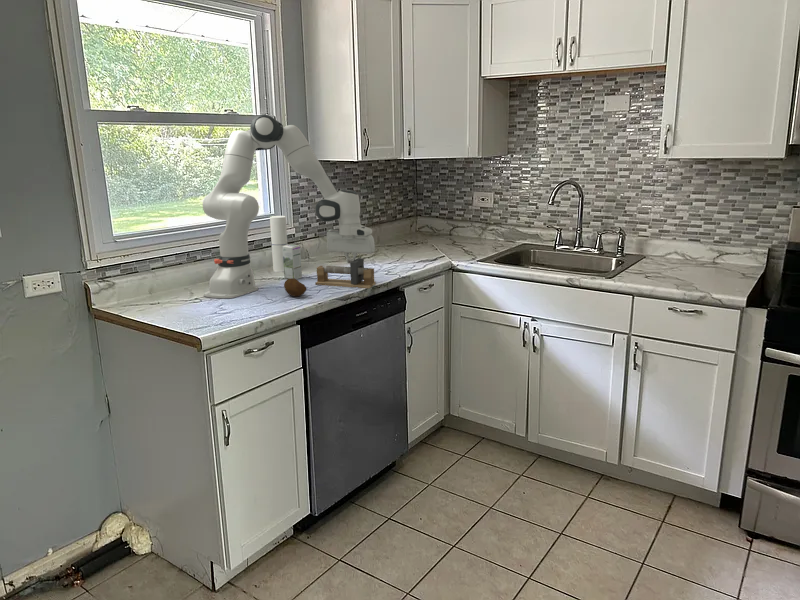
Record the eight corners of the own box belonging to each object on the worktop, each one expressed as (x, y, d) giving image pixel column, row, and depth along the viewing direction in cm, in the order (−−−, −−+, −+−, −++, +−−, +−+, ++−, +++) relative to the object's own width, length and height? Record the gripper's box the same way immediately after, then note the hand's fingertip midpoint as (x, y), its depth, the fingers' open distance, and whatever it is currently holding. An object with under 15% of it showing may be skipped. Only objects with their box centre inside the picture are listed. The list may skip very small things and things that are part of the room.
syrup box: (302, 277, 268) (300, 245, 264) (293, 280, 263) (291, 247, 259) (292, 276, 270) (290, 244, 267) (283, 278, 266) (281, 246, 262)
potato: (298, 300, 230) (297, 282, 229) (277, 295, 237) (276, 278, 235) (311, 296, 236) (310, 278, 234) (290, 292, 242) (289, 275, 241)
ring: (356, 284, 247) (355, 262, 245) (350, 283, 248) (350, 262, 246) (364, 279, 256) (363, 258, 253) (358, 279, 256) (358, 258, 254)
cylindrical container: (270, 271, 281) (266, 217, 274) (279, 268, 287) (276, 215, 281) (282, 272, 278) (278, 218, 271) (292, 269, 284) (288, 216, 277)
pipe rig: (369, 288, 247) (368, 270, 245) (315, 284, 254) (314, 267, 252) (375, 283, 254) (375, 266, 252) (323, 280, 261) (322, 263, 259)
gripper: (323, 230, 247) (324, 263, 251) (370, 231, 241) (371, 265, 245) (329, 228, 253) (331, 260, 257) (375, 229, 247) (376, 262, 251)
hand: (351, 263), depth 251 cm, fingers closed
